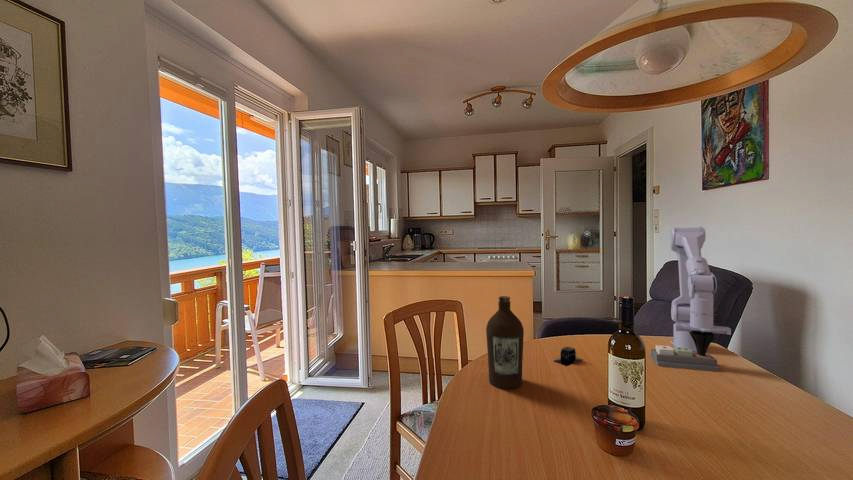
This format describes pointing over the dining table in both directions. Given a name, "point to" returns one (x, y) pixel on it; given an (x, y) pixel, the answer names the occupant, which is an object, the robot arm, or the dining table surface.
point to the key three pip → (701, 356)
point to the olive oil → (505, 347)
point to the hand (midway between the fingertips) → (701, 354)
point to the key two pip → (683, 351)
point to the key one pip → (664, 350)
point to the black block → (568, 357)
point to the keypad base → (684, 361)
